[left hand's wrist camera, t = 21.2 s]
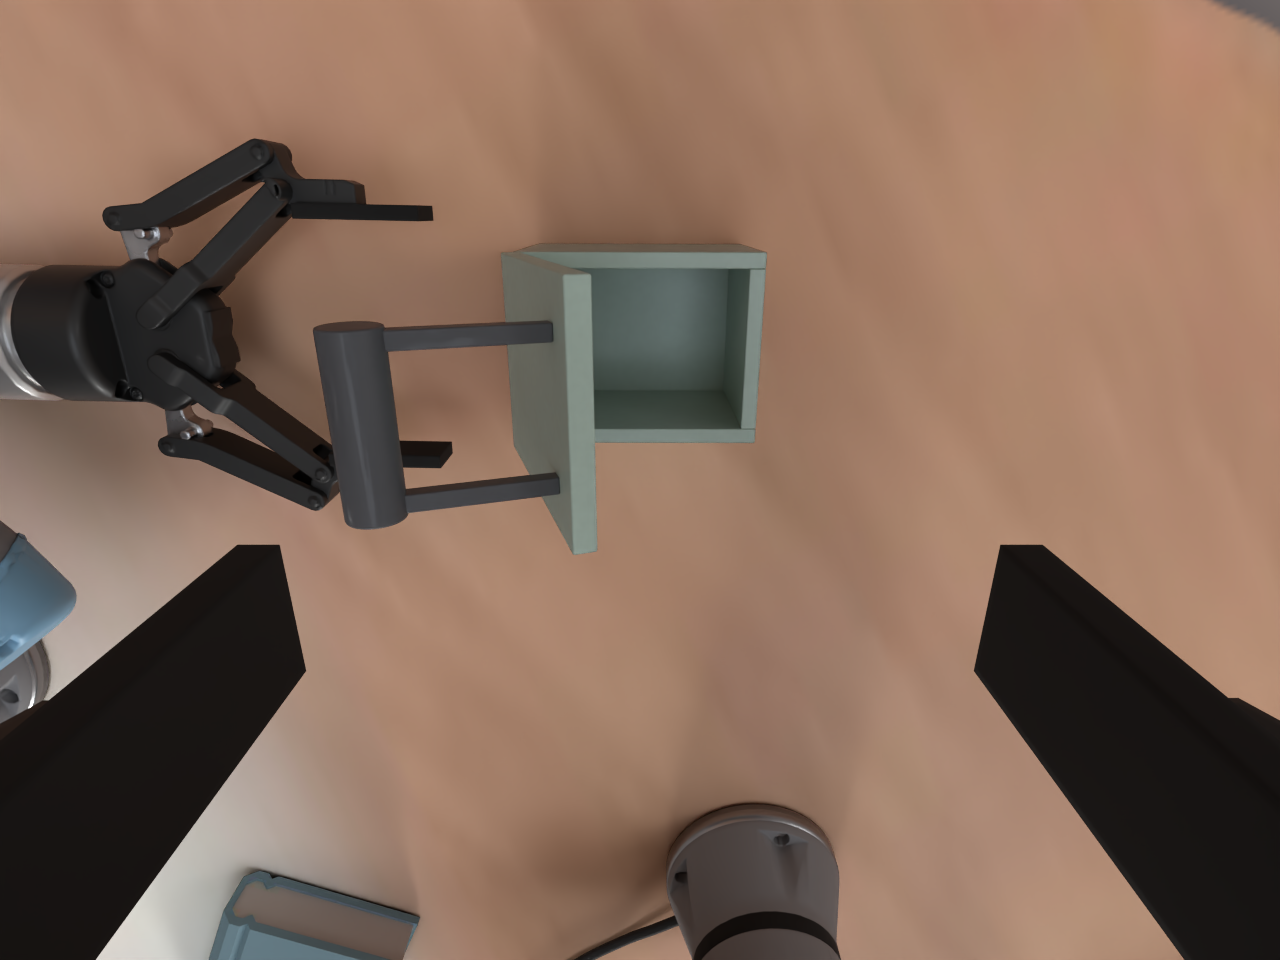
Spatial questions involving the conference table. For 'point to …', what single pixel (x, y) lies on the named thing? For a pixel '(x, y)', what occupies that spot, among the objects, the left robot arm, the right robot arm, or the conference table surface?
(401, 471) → the lid
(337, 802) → the conference table surface
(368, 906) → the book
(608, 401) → the chest
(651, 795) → the conference table surface
